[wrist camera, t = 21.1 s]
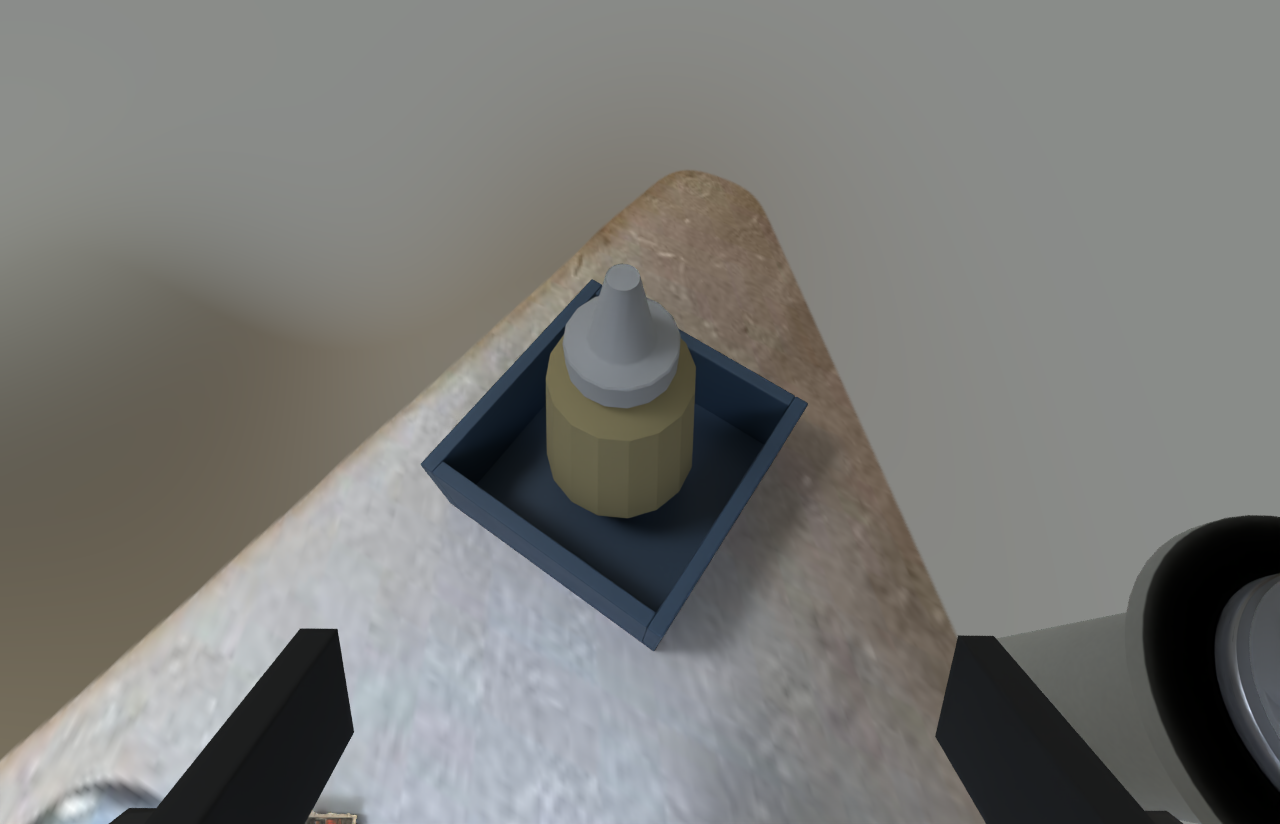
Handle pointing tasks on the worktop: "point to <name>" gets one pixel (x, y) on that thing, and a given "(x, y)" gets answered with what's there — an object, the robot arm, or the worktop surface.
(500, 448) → the bin
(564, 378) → the squeeze bottle
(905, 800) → the worktop surface
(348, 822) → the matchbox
